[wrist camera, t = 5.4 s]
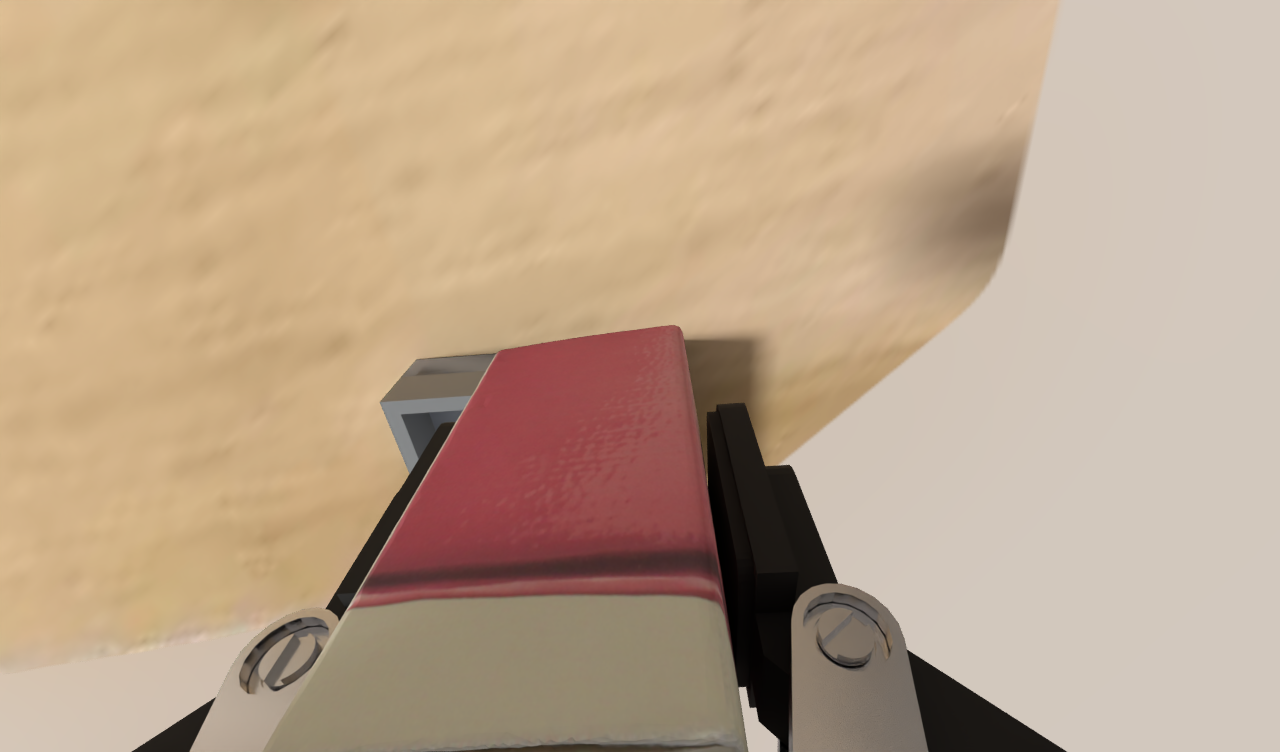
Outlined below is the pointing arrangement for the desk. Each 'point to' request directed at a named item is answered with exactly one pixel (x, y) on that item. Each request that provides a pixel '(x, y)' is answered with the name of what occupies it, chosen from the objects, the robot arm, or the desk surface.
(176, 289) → the desk surface
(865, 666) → the robot arm
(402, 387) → the walled box
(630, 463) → the small box
